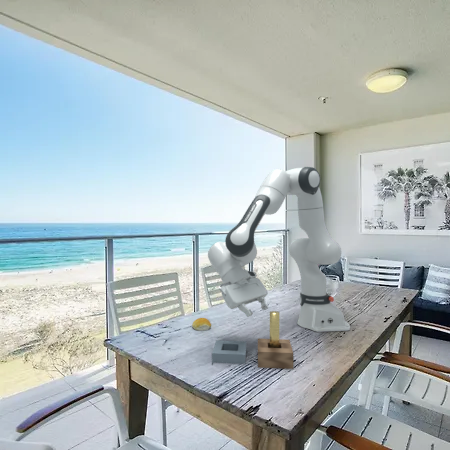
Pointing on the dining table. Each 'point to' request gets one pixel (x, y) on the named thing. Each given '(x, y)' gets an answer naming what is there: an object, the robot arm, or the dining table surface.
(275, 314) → the brass peg
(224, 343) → the slate socket block
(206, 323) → the bread roll
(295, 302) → the dining table surface
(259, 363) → the walnut bore block
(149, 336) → the dining table surface
